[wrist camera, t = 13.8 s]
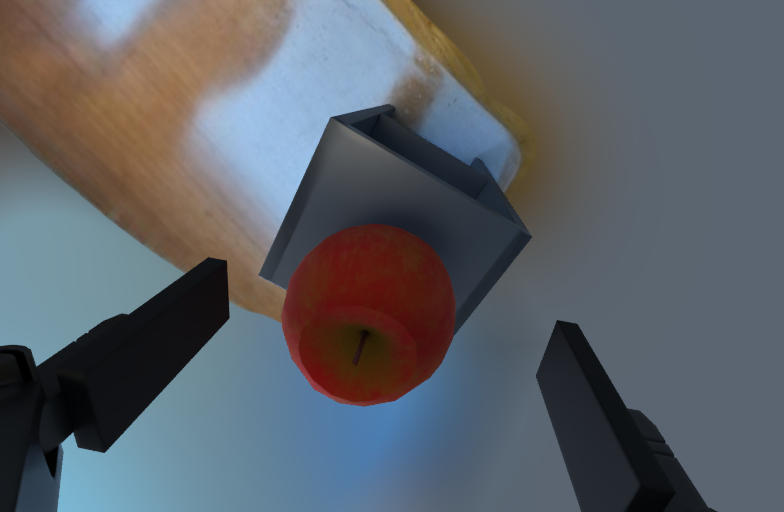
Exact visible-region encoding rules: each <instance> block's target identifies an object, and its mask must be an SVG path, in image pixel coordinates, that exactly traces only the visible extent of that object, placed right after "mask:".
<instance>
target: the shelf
mask: <svg viewBox="0 0 784 512" xmlns="http://www.w3.org/2000/svg"><path fill="white" fill-rule="evenodd" d="M394 109H395V108H394V107H393V106H391V105H390V104H386V105H382V106H377V107H373V108H369V109H364V110H360V111H356V112H351V113H347V114H343V115H338V116H334V117H331V118H330V119H329V122H328V124H327V126H326V128H325V130H324V133H323V135H322V137H321V139H320V141H319V144H318V146H317V148H316V150H315V152H314V155H313V157H312V159H311V161H310V163H309V166H308V168H307V170H306V172H305V174H304V176H303V179H302V181H301V183H300V185H299V187H298V190H297V192H296V194H295V196H294V198H293V201H292V203H291V205H290V207H289V209H288V212H287V214H286V216H285V218H284V220H283V223H282V225H281V227H280V229H279V231H278V234H277V236H276V238H275V240H274V242H273V244H272V247H271V249H270V251H269V253H268V255H267V258H266V260H265V262H264V264H263V266H262V269H261V271H260V273H259V276H260V277H262V278H264V279H266V280H268V281H270V282H271V283H273V284H275V285H277V286H279V287H281V288H283V289H285V290H286V291H287V289H288V284H289V280H290V278H291V276H292V275H293V273H294V272H295V270H296V269H297V267H298V266H299V264H300V263H301V261H302V260H303V258H304V257H305V256H306V255H307V254H308V253H309V252H310V251H311V250H313V249H314V248H315V247H316V246H317V245H318V244H320V243H321V242H322V241H323V240H324V239H325V238H327V237H329V236H331V235H333V234H335V233H337V232H339V231H341V230H343V229H346V228H350V227H354V226H361V225H368V224H382V225H389V226H393V227H397V228H401V229H404V230H405V231H407V232H409V233H411V234H413V235H415V236H417V237H419V238H420V239H421V240H423V241H424V242H425V243H427V244H428V245H429V246H431V248H432V249H433V250H434V251H435V252H436V253H437V255H438V256H439V257H440V258H441V260H442V262H443V264H444V266H445V268H446V270H447V272H448V274H449V276H450V279H451V283H452V287H453V291H454V295H455V299H456V313H455V326H454V334H453V337H454V335H455V334H456V333H457V332H458V330H459V329H460V328H461V326H462V325H463V324H464V322H465V321H466V320H467V319H468V318H469V316H470V315H471V314H472V312H473V311H474V310H475V309H476V308H477V306H478V305H479V304H480V302H481V301H482V300H483V299H484V297H485V296H486V295H487V293H488V292H489V291H490V290H491V289H492V287H493V286H494V285H495V283H496V282H497V281H498V280H499V278H500V277H501V276H502V275H503V273H504V272H505V271H506V270H507V268H508V267H509V266H510V265H511V263H512V262H513V261H514V259H515V258H516V257H517V256H518V254H519V253H520V252H521V251H522V249H523V248H524V247H525V246H526V244H527V243H528V242H529V241H530V239H531V238H532V236H531V234H530V233H529V231H528V230H527V228H526V227H525V225H524V224H523V222H522V221H521V219H520V218H519V216H518V215H517V213H516V212H515V210H514V209H513V207H512V206H511V204H510V202H509V201H508V199H507V198H506V196H505V195H504V193H503V192H502V190H501V189H500V187H499V186H498V184H497V183H496V181H495V180H494V178H493V177H492V175H491V174H490V172H489V171H488V169H487V167H486V166H485V164H484V163H483V161H481V160H480V159H478V158H475V160H474V161H473V163H472V165H471V166H469V165H467V164H465V163H464V162H462V161H460V160H459V159H457V158H455V157H454V156H452V155H451V154H449V153H447V152H446V151H444V150H442V149H441V148H439V147H437V146H436V145H434V144H432V143H431V142H429V141H427V140H426V139H424V138H422V137H421V136H419V135H417V134H416V133H414V132H413V131H411V130H409V129H408V128H406V127H404V126H403V125H401V124H399V123H398V122H396V121H394V120H393V119H391V118H390V117H391V115H392V113H393V111H394Z"/></svg>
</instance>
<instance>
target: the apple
mask: <svg viewBox="0 0 784 512" xmlns="http://www.w3.org/2000/svg"><path fill="white" fill-rule="evenodd" d="M455 313H456V299H455V295H454V291H453V287H452V283H451V279H450V276H449V274H448V272H447V270H446V268H445V266H444V264H443V262H442V260H441V258H440V257H439V256H438V255H437V253H436V252H435V251H434V250H433V249H432V248H431V246H429V245H428V244H427V243H425V242H424V241H423V240H421V239H420V238H419V237H417V236H415V235H413V234H411V233H409V232H407V231H405V230H404V229H401V228H397V227H393V226H389V225H382V224H368V225H361V226H354V227H350V228H346V229H343V230H341V231H339V232H337V233H335V234H333V235H331V236H329V237H327V238H325V239H324V240H323V241H322V242H321V243H320V244H318V245H317V246H316V247H315V248H314V249H313V250H311V251H310V252H309V253H308V254H307V255H306V256H305V257H304V258H303V260H302V261H301V263H300V264H299V266H298V267H297V269H296V270H295V272H294V273H293V275H292V276H291V278H290V280H289V284H288V289H287V294H286V298H285V302H284V307H283V311H282V315H281V319H282V329H283V332H284V336H285V339H286V342H287V345H288V348H289V351H290V354H291V358H292V360H293V361H294V362H295V364H296V365H297V367H298V368H299V369H300V371H301V372H302V373H303V375H304V376H305V377H306V379H307V380H308V382H310V384H311V386H312V387H313V388H314V389H315V390H316V391H318V392H320V393H322V394H324V395H326V396H327V397H329V398H331V399H333V400H335V401H336V402H338V403H344V404H350V405H358V406H369V405H375V404H380V403H385V402H391V401H395V400H397V399H399V398H400V397H402V396H403V395H405V394H406V393H408V392H409V391H411V390H412V389H414V388H415V387H417V386H418V385H420V384H421V383H423V382H424V381H425V380H427V379H429V378H430V377H431V376H432V374H433V373H434V372H435V370H436V369H437V368H438V367H439V366H440V364H441V363H442V361H443V359H444V357H445V354H446V352H447V350H448V348H449V346H450V344H451V342H452V339H453V334H454V326H455Z"/></svg>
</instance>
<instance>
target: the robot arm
mask: <svg viewBox="0 0 784 512" xmlns="http://www.w3.org/2000/svg"><path fill="white" fill-rule="evenodd" d="M228 319H229V296H228V275H227V261H226V260H220V259H215V258H209V257H208V258H207V259H205V260H204V261H203V262H201V263H200V264H198V265H197V266H196V267H194V268H193V269H192V270H190V271H189V272H187V273H186V274H185V275H183V276H182V277H181V278H179V279H178V280H176V281H175V282H173V283H172V284H171V285H169V286H168V287H167V288H165V289H164V290H162V291H161V292H160V293H158V294H157V295H155V296H154V297H153V298H151V299H150V300H148V301H147V302H146V303H144V304H143V305H142V306H140V307H139V308H137V309H136V310H135V311H133V312H132V313H130V314H129V315H128V314H119V315H117V316H115V317H112V318H110V319H107V320H105V321H103V322H101V323H100V324H99V325H97V326H96V327H94V328H93V329H91V330H90V331H89V332H88V333H85V334H84V335H82V336H81V337H79V338H78V339H77V341H76V342H74V341H73V342H72V343H71V344H69V345H68V346H66V347H65V348H63V349H62V350H61V351H59V352H57V353H56V354H54V355H53V356H52V357H50V358H49V359H47V360H46V361H44V362H43V363H41V364H40V365H38V366H37V367H36V364H35V361H34V358H33V355H32V352H31V349H29V348H27V347H25V346H21V345H6V346H0V512H57V507H58V498H59V489H60V479H61V470H62V460H63V449H62V445H61V443H62V442H63V441H64V440H65V439H66V438H67V437H68V436H69V435H71V434H72V433H74V436H75V439H76V443H77V446H78V447H79V448H83V449H88V450H93V451H97V452H102V453H105V452H106V451H107V450H108V449H109V447H111V446H112V444H113V443H114V442H115V441H116V440H117V439H118V438H119V437H120V436H121V435H122V434H123V433H124V431H126V429H127V428H128V427H129V426H130V425H131V424H132V423H133V422H134V421H135V420H136V419H137V417H138V416H139V415H140V414H141V413H142V412H143V411H144V410H145V409H146V408H147V407H148V406H149V404H150V403H151V402H152V401H153V400H154V399H155V398H156V397H157V396H158V395H159V394H160V393H161V392H162V391H163V389H164V388H165V387H166V386H167V385H168V384H169V383H170V382H171V381H172V380H173V379H174V378H175V377H176V375H177V374H178V373H179V372H180V371H181V370H182V369H183V368H184V367H185V366H186V364H187V363H188V362H189V361H190V360H191V359H192V358H193V357H194V356H195V355H196V354H197V353H198V352H199V351H200V349H201V348H202V347H203V346H204V345H205V344H206V343H207V342H208V341H209V340H210V339H211V338H212V337H213V335H214V334H215V333H216V332H217V331H218V330H219V329H220V328H221V327H222V326H223V325H224V324H225V323H226V321H227V320H228ZM536 378H537V381H538V384H539V387H540V389H541V393H542V395H543V399H544V401H545V404H546V407H547V410H548V413H549V416H550V419H551V422H552V425H553V428H554V431H555V434H556V437H557V440H558V443H559V446H560V449H561V452H562V455H563V458H564V461H565V464H566V467H567V470H568V473H569V476H570V479H571V482H572V485H573V488H574V491H575V494H576V497H577V500H578V503H579V506H580V509H581V512H717V511H715V510H713V509H711V508H708V507H707V505H706V504H705V502H704V501H703V499H702V497H701V496H700V494H699V493H698V491H697V490H696V488H695V486H694V485H693V483H692V482H691V480H690V479H689V477H688V476H687V474H686V473H685V471H684V469H683V468H682V466H681V465H680V463H679V462H678V460H677V458H674V454H673V452H672V451H671V449H670V448H669V446H668V445H666V444H665V440H664V438H663V437H662V435H661V434H660V432H659V431H658V429H657V427H656V426H655V425H654V424H653V423H652V422H651V421H650V420H649V419H648V418H647V417H646V416H645V415H644V414H643V413H641V411H638V410H632V409H627V408H626V406H625V404H624V403H623V401H622V399H621V397H620V396H619V394H618V393H617V391H616V389H615V387H614V385H613V384H612V382H611V380H610V379H609V377H608V375H607V374H606V372H605V370H604V369H603V367H602V365H601V363H600V362H599V360H598V358H597V357H596V355H595V353H594V352H593V350H592V348H591V347H590V345H589V343H588V341H587V340H586V338H585V336H584V335H583V333H582V331H581V329H580V328H579V326H578V324H575V323H570V322H564V321H559V320H557V322H556V324H555V327H554V330H553V333H552V335H551V338H550V340H549V343H548V345H547V348H546V351H545V353H544V356H543V358H542V361H541V364H540V366H539V369H538V372H537V374H536Z"/></svg>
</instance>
